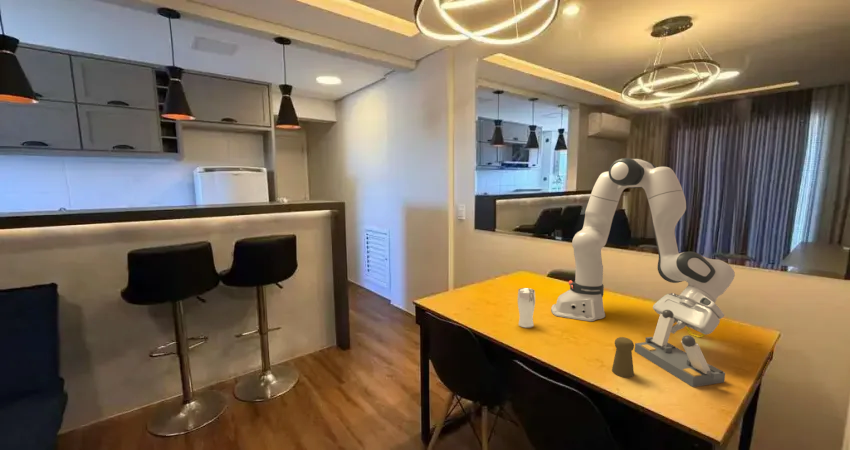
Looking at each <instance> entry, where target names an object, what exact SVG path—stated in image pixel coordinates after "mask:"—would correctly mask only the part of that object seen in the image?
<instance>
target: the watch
mask: <svg viewBox="0 0 850 450" xmlns="http://www.w3.org/2000/svg"><path fill="white" fill-rule="evenodd" d="M685 327H686V332H687V333H688V334H689V336H692V337H694V338H698V339H699V338H703V337H705V334H703V333H701V335H697V334H694V333H693V332H692V330H691V328H689V327H687V326H685Z"/></svg>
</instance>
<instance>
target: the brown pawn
mask: <svg viewBox="0 0 850 450" xmlns="http://www.w3.org/2000/svg"><path fill="white" fill-rule="evenodd" d="M614 346H615V353H614V358H613V364H612V366H611V371H612V374H614V375H615V376H618V377H620V378H626V379H629V378H633V377H634V376H635V373H634V361H633V350H634V349H635V344H634V342H633V340H632V339H630V338H627V337H623V336H618V337H616V339H615V340H614Z"/></svg>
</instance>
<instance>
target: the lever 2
mask: <svg viewBox="0 0 850 450" xmlns="http://www.w3.org/2000/svg"><path fill="white" fill-rule="evenodd" d="M680 343H681V345H682V348H683V349H684V352H686V353H687V356H688V358H689V360H690V362H691V366H693V367H694V368H695V369H697V370H699V371H701V372H703V373H704V374H707V375H709V376H711V373H712V372H710V368H709V366H708V364H709V363H707V360H706V358H705V356H704V354H703V352H702V349H701V347H700V345H699V343H696V339H695V337H694V336H693V335H690V334H689V335H686V334H685V335H684V336H683V337H682V338H681V340H680Z"/></svg>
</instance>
